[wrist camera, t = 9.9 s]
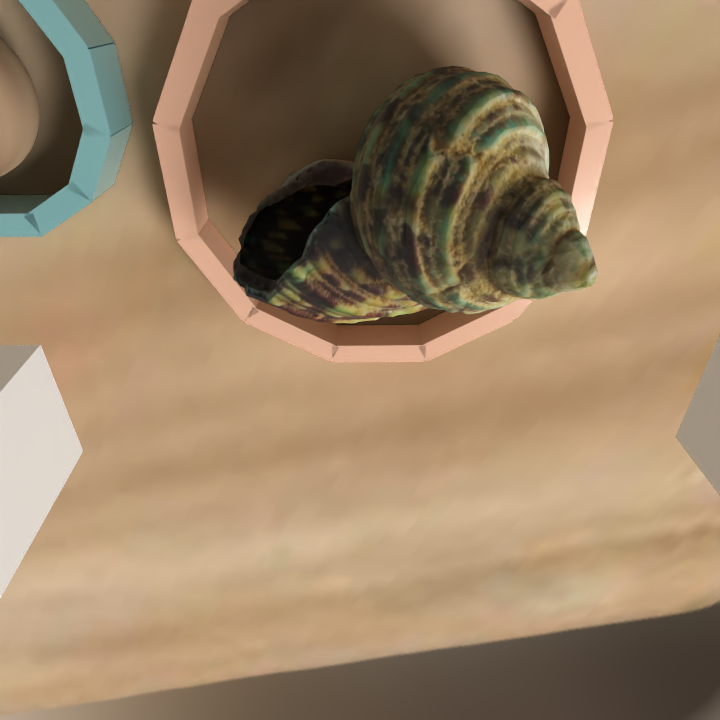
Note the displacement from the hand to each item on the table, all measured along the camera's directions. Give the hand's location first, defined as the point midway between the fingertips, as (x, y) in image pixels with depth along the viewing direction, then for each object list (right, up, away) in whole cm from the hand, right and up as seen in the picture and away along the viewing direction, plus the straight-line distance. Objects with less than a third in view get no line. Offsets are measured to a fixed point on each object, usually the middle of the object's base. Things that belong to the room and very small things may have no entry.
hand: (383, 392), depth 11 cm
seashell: (+1, +9, +13) cm, 16 cm away
